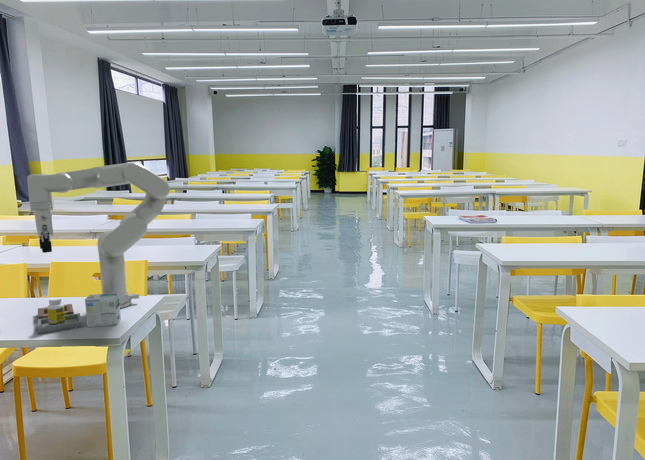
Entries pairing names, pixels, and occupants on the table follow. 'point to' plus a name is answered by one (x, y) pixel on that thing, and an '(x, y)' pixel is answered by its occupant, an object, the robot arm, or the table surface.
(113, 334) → the table surface
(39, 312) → the socket block
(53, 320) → the supplement bottle
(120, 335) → the table surface
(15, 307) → the table surface
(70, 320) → the tray
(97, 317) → the light bulb box
